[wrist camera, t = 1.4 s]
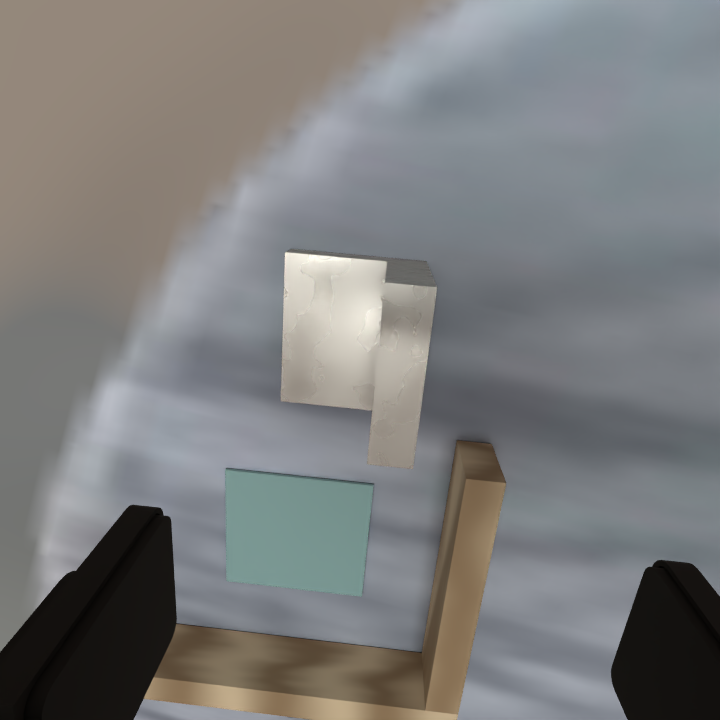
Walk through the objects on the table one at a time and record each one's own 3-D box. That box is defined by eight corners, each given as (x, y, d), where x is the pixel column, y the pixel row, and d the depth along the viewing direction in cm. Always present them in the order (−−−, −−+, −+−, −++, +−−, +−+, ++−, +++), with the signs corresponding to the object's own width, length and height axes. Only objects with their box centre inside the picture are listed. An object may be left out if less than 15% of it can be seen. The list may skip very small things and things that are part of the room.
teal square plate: (373, 483, 30) (373, 485, 30) (361, 594, 33) (361, 596, 33) (226, 468, 30) (225, 469, 30) (227, 578, 33) (226, 580, 33)
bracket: (408, 402, 28) (412, 469, 22) (286, 390, 29) (254, 452, 22) (426, 260, 26) (437, 287, 19) (291, 248, 26) (255, 270, 19)
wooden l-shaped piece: (491, 443, 29) (506, 483, 25) (446, 677, 35) (453, 737, 31) (117, 405, 30) (76, 437, 26) (138, 640, 36) (108, 694, 32)
